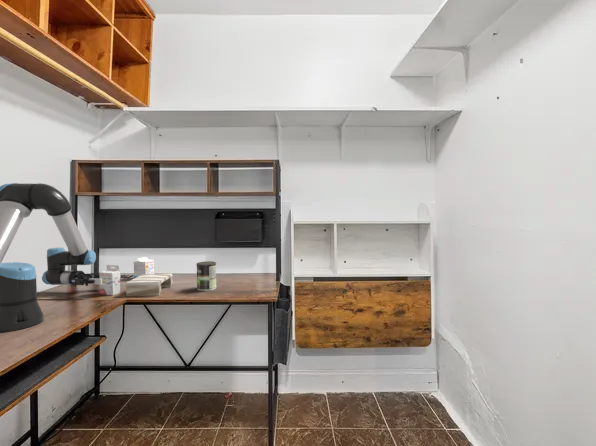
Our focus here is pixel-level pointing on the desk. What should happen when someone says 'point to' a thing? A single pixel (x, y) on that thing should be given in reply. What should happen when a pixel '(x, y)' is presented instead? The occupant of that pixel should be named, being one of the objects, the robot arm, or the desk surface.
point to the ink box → (143, 267)
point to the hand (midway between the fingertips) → (111, 278)
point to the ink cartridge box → (110, 280)
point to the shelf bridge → (148, 284)
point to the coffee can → (206, 276)
